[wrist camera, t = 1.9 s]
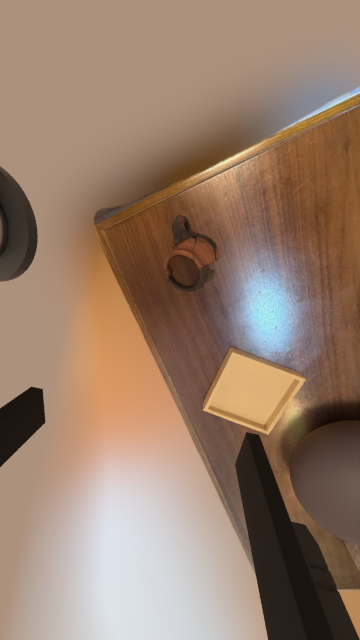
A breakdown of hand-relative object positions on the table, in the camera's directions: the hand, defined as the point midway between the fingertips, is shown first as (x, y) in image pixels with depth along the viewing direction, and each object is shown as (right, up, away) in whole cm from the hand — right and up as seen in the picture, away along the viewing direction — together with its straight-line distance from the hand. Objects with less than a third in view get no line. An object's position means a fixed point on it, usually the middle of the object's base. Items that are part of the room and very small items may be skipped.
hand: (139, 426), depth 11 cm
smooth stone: (+38, -22, +30) cm, 54 cm away
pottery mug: (+5, +19, +22) cm, 29 cm away
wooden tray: (+18, -9, +28) cm, 35 cm away
